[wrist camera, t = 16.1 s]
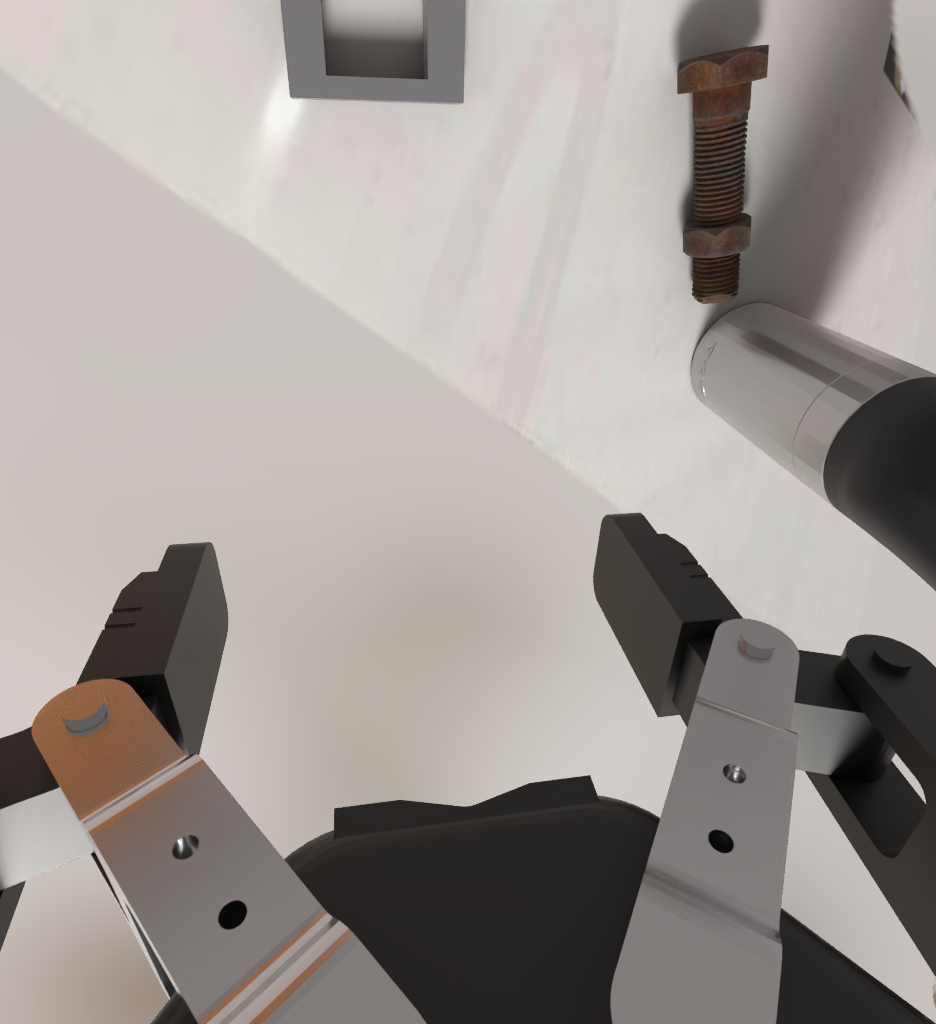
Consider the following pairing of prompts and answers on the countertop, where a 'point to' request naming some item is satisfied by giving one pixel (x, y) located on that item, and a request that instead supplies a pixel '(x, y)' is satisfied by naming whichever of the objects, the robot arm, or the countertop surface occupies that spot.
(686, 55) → the countertop surface
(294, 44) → the fuse holder
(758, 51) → the bolt
